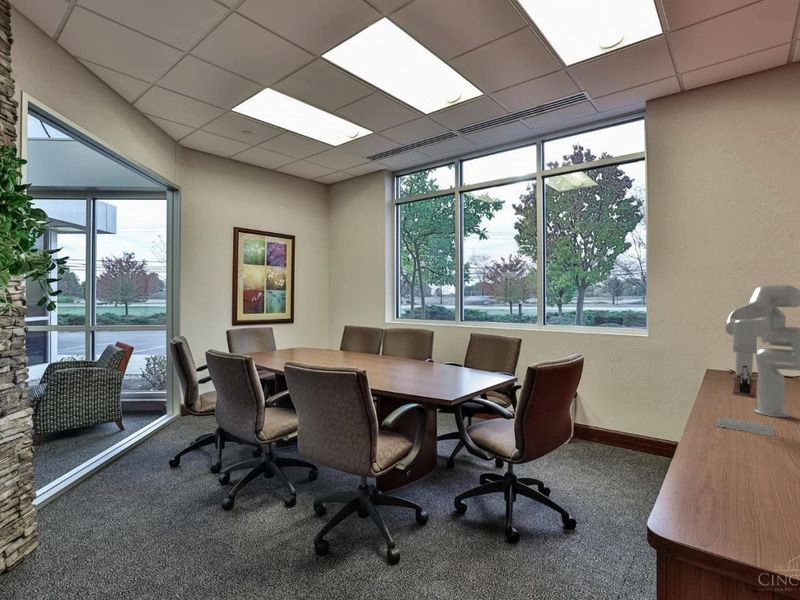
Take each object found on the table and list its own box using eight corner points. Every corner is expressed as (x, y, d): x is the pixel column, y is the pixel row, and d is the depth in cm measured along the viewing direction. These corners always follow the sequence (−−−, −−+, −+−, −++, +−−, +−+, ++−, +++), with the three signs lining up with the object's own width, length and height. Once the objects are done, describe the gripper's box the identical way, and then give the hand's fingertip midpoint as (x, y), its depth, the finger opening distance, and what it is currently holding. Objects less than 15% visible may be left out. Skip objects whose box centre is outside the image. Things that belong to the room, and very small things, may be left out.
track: (717, 420, 178) (717, 416, 178) (771, 429, 167) (771, 424, 167) (716, 426, 169) (716, 422, 169) (774, 436, 157) (774, 431, 157)
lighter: (730, 394, 171) (731, 371, 171) (735, 393, 172) (735, 370, 172) (754, 398, 164) (754, 374, 164) (758, 397, 165) (758, 373, 165)
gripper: (732, 346, 177) (732, 387, 177) (733, 349, 164) (733, 394, 164) (755, 348, 172) (755, 390, 172) (758, 351, 159) (757, 397, 159)
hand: (744, 391), depth 168 cm, fingers closed on lighter, 4 cm apart
